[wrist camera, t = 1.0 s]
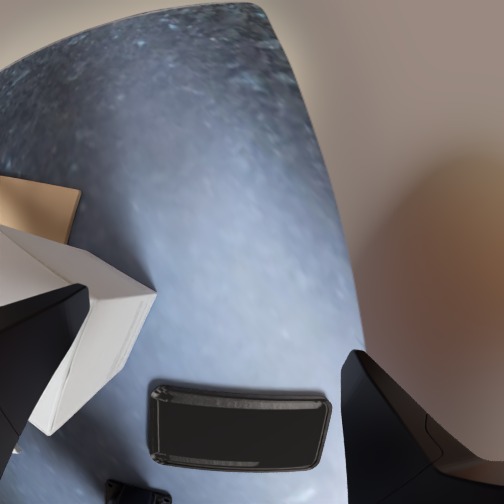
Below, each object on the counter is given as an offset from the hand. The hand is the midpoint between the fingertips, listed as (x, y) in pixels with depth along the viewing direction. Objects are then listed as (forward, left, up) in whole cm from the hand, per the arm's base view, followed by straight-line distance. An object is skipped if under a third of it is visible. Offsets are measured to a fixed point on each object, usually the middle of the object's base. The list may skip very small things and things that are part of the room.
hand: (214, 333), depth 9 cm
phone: (-11, -4, -14) cm, 18 cm away
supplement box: (-3, +9, -14) cm, 17 cm away
